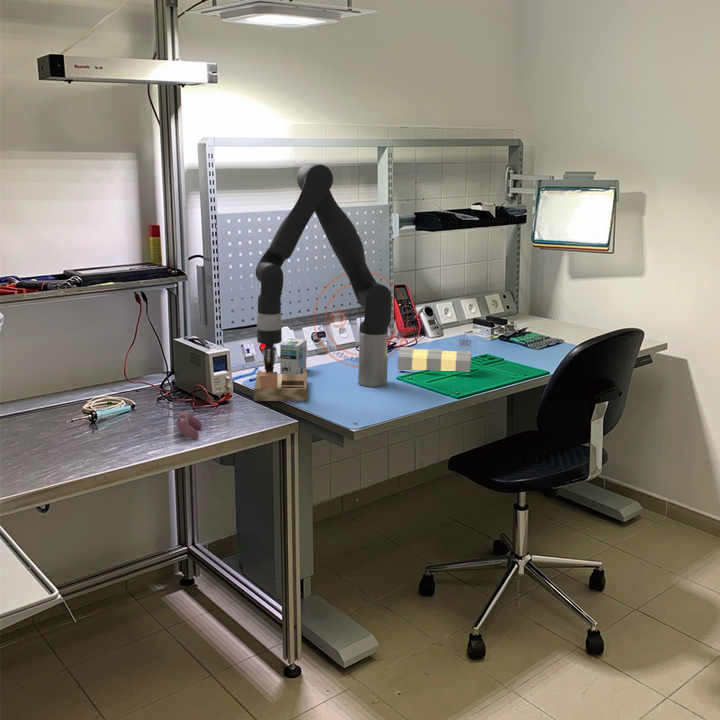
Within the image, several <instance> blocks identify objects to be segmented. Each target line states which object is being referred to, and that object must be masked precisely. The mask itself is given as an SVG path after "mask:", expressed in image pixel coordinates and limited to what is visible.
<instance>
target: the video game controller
mask: <svg viewBox="0 0 720 720" xmlns="http://www.w3.org/2000/svg"><path fill="white" fill-rule="evenodd" d="M175 423H176V426H177V429H178V431H179V432H180V433H181V434H183V435H184V436H185V437H188V438H190V439H191V440H198V438H199V436H200V435H199V432H198V431H197V430H196V429H201V428H202V426H203V424H202V422H201V421H200V420H199V419H198V418H196V417H195V416H193V414H191V412H188V410H186V411H182V412H180V413H178V414H177V420H176V422H175Z"/></svg>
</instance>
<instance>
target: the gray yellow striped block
mask: <svg viewBox="0 0 720 720" xmlns="http://www.w3.org/2000/svg"><path fill="white" fill-rule="evenodd" d="M458 342H459V347H457V350H456V351H453V350H452V351H450V350H444V349H443V348H428V349H421V348H420V349H419V348H415V347H409V346H400V348H399V349H398V353H397V354H398V355H397V371H398V370H430V371H463V372H470V373H471V371H470V364H471V365H472V352H473V349H471V348H473V346H471V344H472V340H471V339H469V338H468V337H466V336H460V337H459V339H458ZM466 349H467V350H466Z"/></svg>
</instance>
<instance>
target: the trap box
mask: <svg viewBox="0 0 720 720" xmlns="http://www.w3.org/2000/svg"><path fill="white" fill-rule="evenodd" d="M261 372H262V370H257V372H256V378H255V382H254V387H253V401H254V402H304V401H305V402H307V401H308V370H305V371H304V372H303V373H302V374H280V373H277V388H260V374H261Z"/></svg>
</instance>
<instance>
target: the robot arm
mask: <svg viewBox="0 0 720 720" xmlns="http://www.w3.org/2000/svg"><path fill="white" fill-rule="evenodd" d="M296 178H297V184H298V187H299V189H300V190H301V191H300V195H299V197H298V199H297V201H296V203H294V206H293V208H292V209H291V210H290V212H288V214H287V215H286V216H285V218H284V220H282V221H281V223H280V225H279V227H278V229H277V231H276V233H275V234H274V237H273V239H272V241H271V243H270V245H269V247H268V249H267V250H266V251H265V252H264V254H263V255H262V257H261V258H260V260H259V261H258V262H257V263H258V264H257V266H256V268H255V277H256V279H257V280H258V282H260V294H259V295H258V297H257V317H256V332H257V333H256V341H257V343H259V344H261V345H264V346H263V347H262V348H263V349H262V355H263V364H264V370H265V372H274V369H275V363H276V354H277V347H276V346H274V345H278V344H280V343H282V340H283V338H282V336H283V334H282V332H283V330H282V329H283V326H282V325H283V324H282V311H281V310H282V303H281V302H282V301H281V298H282V293H283V287H284V272H283V269H282V266H283V264H284V263H285V262H286V260H288V259H290V258H291V256H292V255H293V253H294V251H295V249H296V248H297V245H298V242H299V241H300V238H301V236H302V234H303V233H304V230H305V228H306V226H307V225H308V224H309V221H310V220H311V218H312V216H313V215H314V213H315V215H316V216H317V219H318V222H319V224H320V226H321V228H322V230H323V232H324V234H325V236H326V238H327V241H328V242H329V245H330V246H331V249H332V250H333V251H332V252H333V253H334V254H335V256H336V258H337V260H338V261H339V263H340V266H341V267H342V268H343V270H344V272H345V274H346V277H347V278H348V280H349V282H350V285H351V287H352V290H353V293H354V295H355V298H356V301H357V302H358V304H359V305H360V306H361V308H362V309H364V316H363V317H364V318H363V321H362V322H360V324H359V330H358V331H359V333H358V335H359V336H358V337H359V339H358V377H357V378H358V379H357V383H358V385H360V386H364V387H370V388H372V387H373V388H375V387H382V386H387V385H388V365H389V363H388V362H389V361H388V360H389V357H388V339H389V338H388V331H389V326H390V324H391V319H392V305H393V302H392V301H393V298H392V293H391V291H390V289H389V288H388V286H386V285H384V284H381V283H378V282H377V281H376V279H375V278H374V277H373V275H372V273H371V271H370V269H369V267H368V264H367V261H366V256H365V255H366V254H365V248H364V246H363V245H364V244H363V241H362V238H361V237H360V235H359V233H358V231H357V229H356V227H355V226H354V223H353V222H352V220H351V219H350V218H349V217H348V215H347V214H346V213H345V212H344V210H343V209H342V208H341V207H340V206H339V205H338V203H337V202H336V199H335V198H334V196H333V194H332V191H331V188H332V186H333V183H334V176H333V172H332V170H331V169H330V168H329V167H328V166H326V165H324V164H322V163H321V164H319V163H306V164H304V165H302V166H301V167H300V168H299V169H298V173H297V177H296Z"/></svg>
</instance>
